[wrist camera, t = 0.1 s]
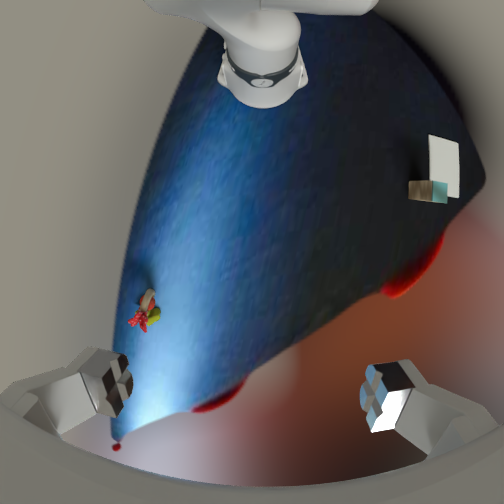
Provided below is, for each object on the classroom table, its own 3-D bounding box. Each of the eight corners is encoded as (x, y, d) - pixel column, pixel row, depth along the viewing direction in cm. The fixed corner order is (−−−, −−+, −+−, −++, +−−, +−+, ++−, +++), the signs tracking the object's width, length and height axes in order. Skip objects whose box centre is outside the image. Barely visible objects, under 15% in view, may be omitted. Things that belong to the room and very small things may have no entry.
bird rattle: (144, 285, 61) (134, 320, 59) (128, 281, 50) (116, 323, 49) (167, 293, 61) (157, 329, 60) (155, 291, 50) (143, 334, 49)
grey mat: (428, 134, 48) (429, 134, 48) (457, 143, 48) (458, 143, 48) (428, 192, 51) (429, 192, 51) (457, 197, 51) (458, 197, 51)
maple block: (409, 181, 51) (433, 180, 41) (422, 183, 51) (447, 183, 41) (408, 198, 52) (432, 201, 42) (422, 200, 52) (447, 203, 42)
